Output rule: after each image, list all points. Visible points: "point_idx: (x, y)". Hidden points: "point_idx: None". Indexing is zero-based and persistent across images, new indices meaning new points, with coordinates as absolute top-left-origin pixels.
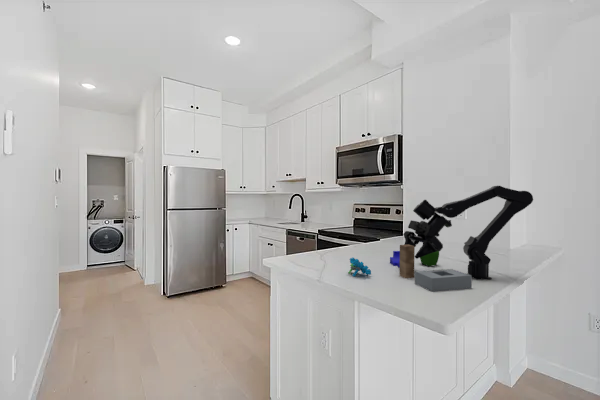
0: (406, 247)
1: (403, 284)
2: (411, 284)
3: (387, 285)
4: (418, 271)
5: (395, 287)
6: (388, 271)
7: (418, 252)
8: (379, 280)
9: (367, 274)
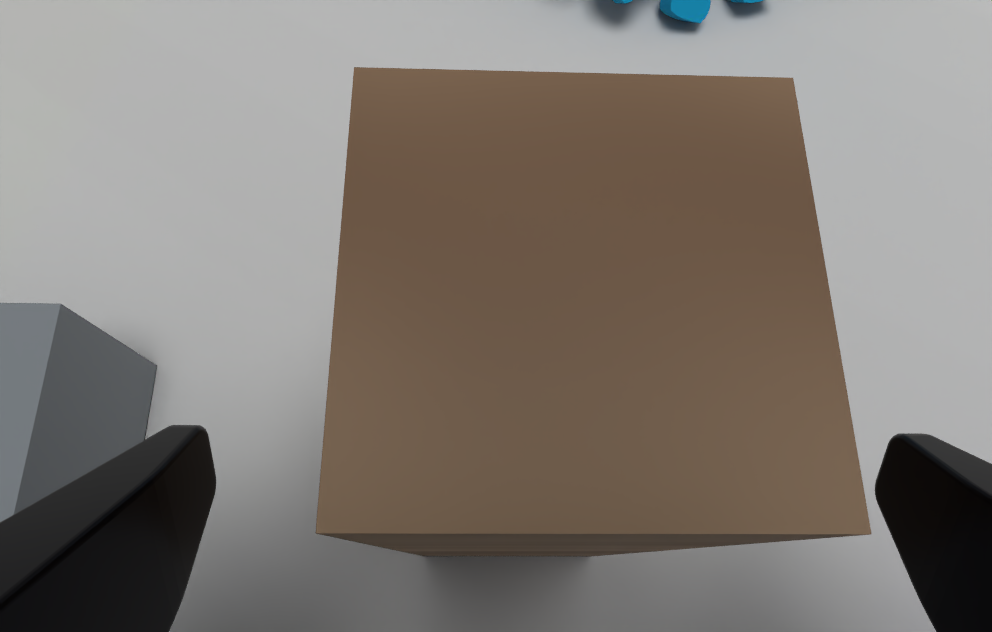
0: (357, 133)
1: (184, 204)
2: (143, 299)
3: (221, 23)
4: (24, 362)
5: (123, 61)
6: (845, 366)
7: (49, 506)
8: (428, 37)
9: (667, 2)
